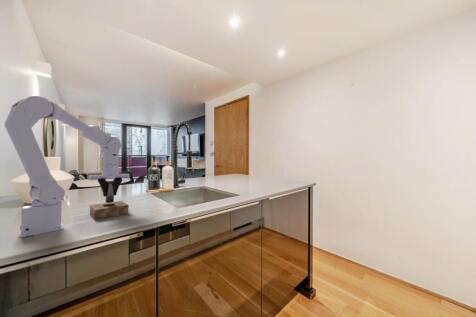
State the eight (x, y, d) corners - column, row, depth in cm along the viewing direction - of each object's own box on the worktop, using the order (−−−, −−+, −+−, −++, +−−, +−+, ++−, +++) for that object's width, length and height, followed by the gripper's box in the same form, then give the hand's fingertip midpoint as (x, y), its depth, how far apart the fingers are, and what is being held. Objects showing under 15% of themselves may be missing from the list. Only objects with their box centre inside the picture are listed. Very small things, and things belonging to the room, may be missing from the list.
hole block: (94, 220, 72) (94, 210, 72) (89, 214, 79) (89, 205, 79) (128, 214, 81) (128, 205, 81) (121, 209, 88) (121, 200, 88)
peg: (106, 203, 78) (106, 181, 78) (104, 201, 80) (105, 180, 80) (114, 201, 80) (115, 181, 80) (112, 200, 82) (113, 180, 82)
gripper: (91, 165, 72) (90, 199, 72) (132, 164, 82) (131, 195, 83) (88, 164, 77) (87, 196, 77) (127, 164, 87) (126, 192, 87)
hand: (109, 195), depth 80 cm, fingers closed on peg, 3 cm apart
